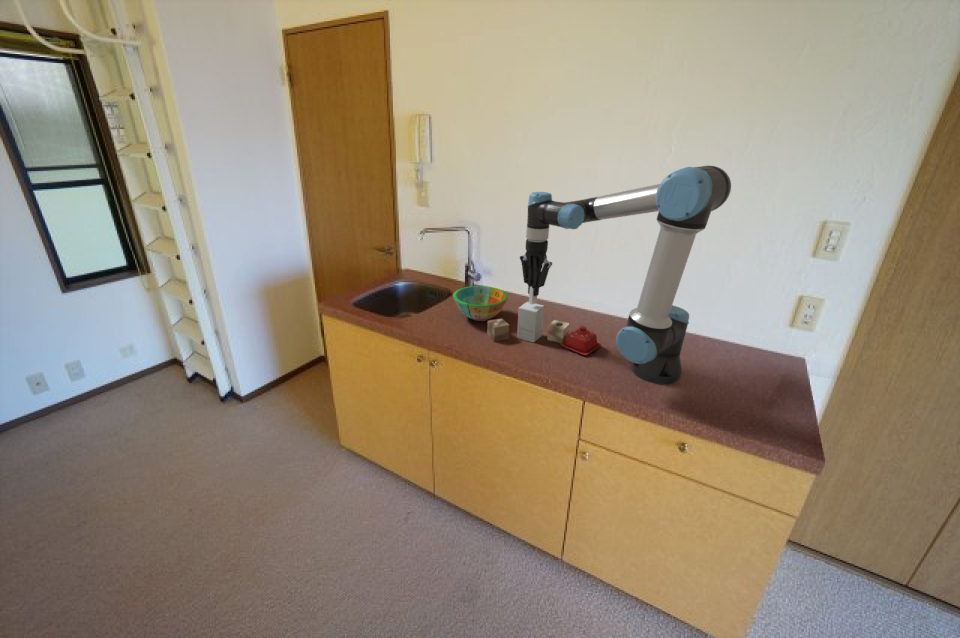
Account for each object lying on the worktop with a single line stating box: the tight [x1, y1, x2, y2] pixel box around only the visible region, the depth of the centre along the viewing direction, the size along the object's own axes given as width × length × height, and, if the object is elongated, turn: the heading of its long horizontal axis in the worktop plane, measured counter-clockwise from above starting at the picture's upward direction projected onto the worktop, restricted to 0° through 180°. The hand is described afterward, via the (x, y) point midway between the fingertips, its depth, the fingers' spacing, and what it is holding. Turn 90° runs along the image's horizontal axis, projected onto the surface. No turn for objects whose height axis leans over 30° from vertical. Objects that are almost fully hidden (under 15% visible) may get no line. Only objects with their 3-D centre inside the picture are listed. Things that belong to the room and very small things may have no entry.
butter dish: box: [560, 325, 602, 356], centre depth 151 cm, size 12×12×8 cm
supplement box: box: [516, 301, 545, 344], centre depth 156 cm, size 7×7×13 cm
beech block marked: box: [546, 319, 570, 344], centre depth 157 cm, size 6×6×6 cm
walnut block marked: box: [486, 318, 510, 342], centre depth 157 cm, size 6×6×6 cm
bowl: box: [452, 285, 509, 322], centre depth 172 cm, size 22×22×10 cm
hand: (532, 303), depth 153 cm, fingers closed
